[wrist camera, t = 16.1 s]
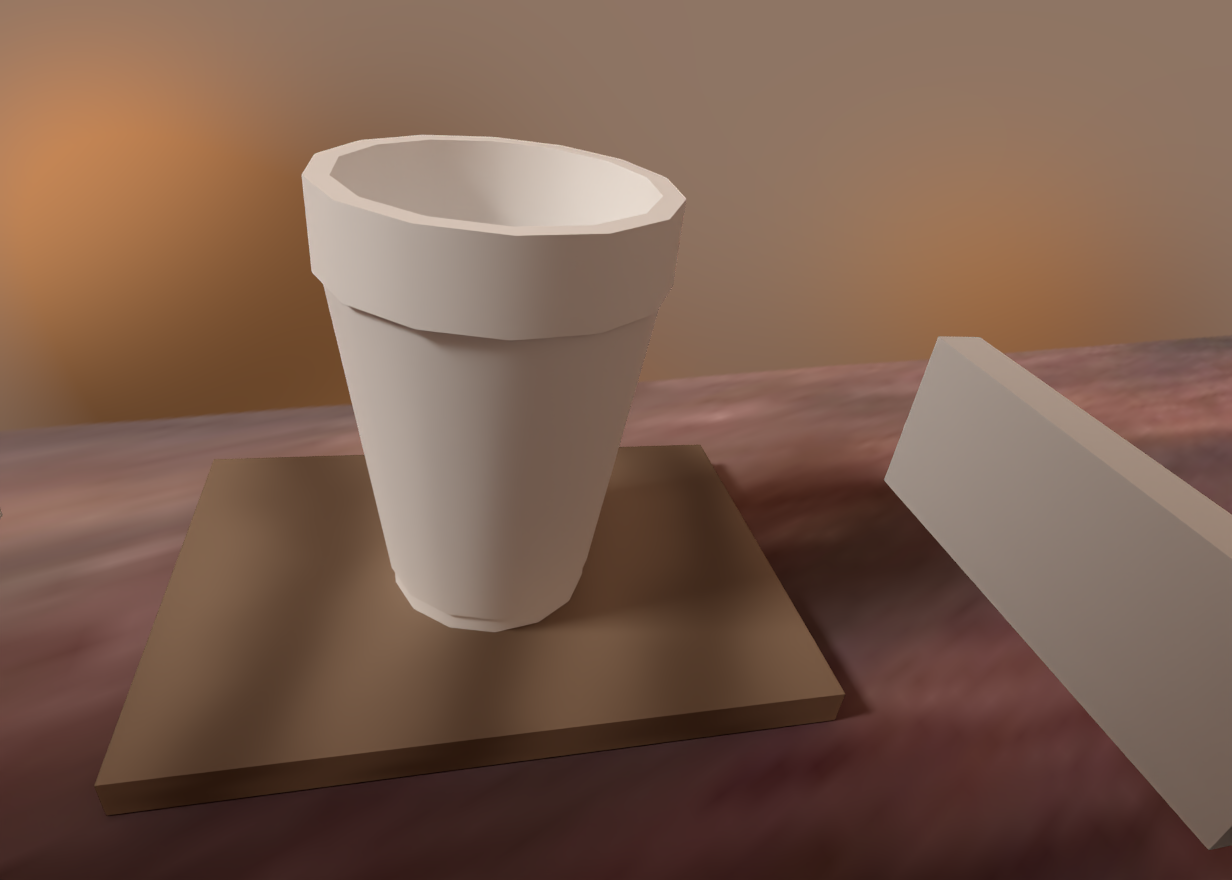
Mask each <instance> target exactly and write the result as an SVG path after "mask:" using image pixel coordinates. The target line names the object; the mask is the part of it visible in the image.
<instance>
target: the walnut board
mask: <svg viewBox="0 0 1232 880" xmlns="http://www.w3.org/2000/svg"><path fill="white" fill-rule="evenodd" d="M844 696H845V693H844V691H843V689H842V687H841V686H840V684H839V682H838V681H837V679H836V677H835V675H834V674H833V672H832V670H831V669H830V667H829V665H828V663H827V662H826V660H825V658H824V657H823V655H822V653H821V651H820V650H819V648H818V646H817V644H816V643H815V641H814V639H813V638H812V636H811V634H810V632H809V631H808V629H807V627H806V626H805V624H804V622H803V620H802V619H801V617H800V615H799V614H798V612H797V610H796V608H795V607H794V605H793V603H792V601H791V600H790V598H789V596H788V595H787V593H786V591H785V589H784V588H783V586H782V584H781V583H780V581H779V579H778V577H777V576H776V574H775V572H774V571H773V569H772V567H771V565H770V564H769V562H768V560H767V558H766V557H765V555H764V553H763V552H762V550H761V548H760V546H759V545H758V543H757V541H756V540H755V538H754V536H753V534H752V533H751V531H750V529H749V528H748V526H747V524H746V522H745V521H744V519H743V517H742V515H741V514H740V512H739V510H738V509H737V507H736V505H735V503H734V502H733V500H732V498H731V497H730V495H729V493H728V491H727V490H726V488H725V486H724V485H723V483H722V481H721V479H720V478H719V476H718V474H717V472H716V471H715V469H714V467H713V466H712V464H711V462H710V460H709V459H708V457H707V455H706V454H705V452H704V450H703V448H702V447H701V445H673V446H640V447H619V449H618V452H617V456H616V459H615V463H614V466H613V469H612V473H611V476H610V480H609V483H608V487H607V490H606V494H605V497H604V501H603V504H602V508H601V511H600V515H599V518H598V522H597V525H596V528H595V532H594V535H593V539H592V542H591V546H590V549H589V553H588V556H587V560H586V562H585V564H584V566H583V569H582V575H581V577H580V579H579V581H578V583H577V585H576V587H575V590H574V592H573V594H572V596H571V598H570V600H569V601H568V602H567V603H565V604H564V605H563V606H561V607H560V608H558V609H557V610H555V611H554V612H553V613H551V614H550V615H548V616H547V617H545V618H544V619H542V620H541V621H540V622H538V623H533V624H529V625H525V626H520V627H516V628H512V629H507V630H503V631H499V632H487V631H478V630H469V629H460V628H450V627H448V626H446V625H444V624H442V623H440V622H438V621H436V620H434V619H432V618H430V617H428V616H427V615H425V614H423V613H421V612H419V611H417V610H415V609H413V607H412V606H411V604H410V603H409V601H408V600H407V598H406V597H405V595H404V594H403V592H402V591H401V589H400V588H399V586H398V585H397V583H396V578H395V572H394V570H393V569H392V567H391V563H390V558H389V554H388V550H387V546H386V542H385V538H384V534H383V529H382V525H381V521H380V517H379V513H378V509H377V505H376V500H375V496H374V492H373V488H372V484H371V480H370V476H369V471H368V467H367V463H366V459H365V455H345V456H312V457H279V458H246V459H214V461H213V463H212V466H211V469H210V472H209V474H208V477H207V480H206V483H205V485H204V488H203V491H202V493H201V496H200V499H199V502H198V504H197V507H196V510H195V513H194V515H193V518H192V521H191V523H190V526H189V529H188V532H187V534H186V537H185V540H184V542H183V545H182V548H181V551H180V553H179V556H178V559H177V562H176V564H175V567H174V570H173V572H172V575H171V578H170V581H169V583H168V586H167V589H166V592H165V594H164V597H163V600H162V602H161V605H160V608H159V611H158V613H157V616H156V619H155V621H154V624H153V627H152V630H151V632H150V635H149V638H148V641H147V643H146V646H145V649H144V651H143V654H142V657H141V660H140V662H139V665H138V668H137V671H136V673H135V676H134V679H133V681H132V684H131V687H130V690H129V692H128V695H127V698H126V700H125V703H124V706H123V709H122V711H121V714H120V717H119V720H118V722H117V725H116V728H115V730H114V733H113V736H112V739H111V741H110V744H109V747H108V750H107V752H106V755H105V758H104V760H103V763H102V766H101V769H100V771H99V774H98V777H97V779H96V782H95V785H94V787H95V789H96V792H97V794H98V797H99V799H100V802H101V804H102V807H103V809H104V812H105V814H106V816H107V815H115V814H122V813H130V812H137V811H145V810H153V809H160V808H168V807H175V806H183V805H191V804H198V803H206V802H213V801H221V800H229V799H236V798H244V797H252V796H259V795H267V794H274V793H282V792H290V791H297V790H305V789H312V788H320V787H328V786H335V785H343V784H351V783H358V782H366V781H373V780H381V779H389V778H396V777H404V776H411V775H419V774H427V773H434V772H442V771H450V770H457V769H465V768H472V767H480V766H488V765H495V764H503V763H510V762H518V761H526V760H533V759H541V758H549V757H556V756H564V755H571V754H579V753H587V752H594V751H602V750H609V749H617V748H625V747H632V746H640V745H648V744H655V743H663V742H670V741H678V740H686V739H693V738H701V737H708V736H716V735H724V734H731V733H739V732H746V731H754V730H762V729H769V728H777V727H785V726H792V725H800V724H807V723H815V722H823V721H830V720H835V719H836V716H837V714H838V711H839V709H840V706H841V703H842V701H843V698H844Z"/></svg>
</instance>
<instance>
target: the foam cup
mask: <svg viewBox="0 0 1232 880" xmlns="http://www.w3.org/2000/svg"><path fill="white" fill-rule="evenodd" d="M302 182H303V193H304V202H305V212H306V220H307V231H308V241H309V250H310V259H311V269H312V273H313V274H314V275H315V276H316V277H317V278H318V279H319V280H320V281H321V282H322V283H323V285H324V289H325V293H326V297H327V301H328V306H329V310H330V313H331V318H332V322H333V326H334V331H335V335H336V339H337V343H338V347H339V351H340V355H341V360H342V363H343V368H344V372H345V376H346V380H347V384H348V389H349V393H350V397H351V401H352V405H353V409H354V413H355V418H356V422H357V426H358V430H359V434H360V438H361V442H362V447H363V451H364V455H365V459H366V463H367V467H368V471H369V476H370V480H371V484H372V488H373V492H374V496H375V500H376V505H377V509H378V513H379V517H380V521H381V525H382V529H383V534H384V538H385V542H386V546H387V550H388V554H389V558H390V563H391V567H392V569H393V570H394V572H395V578H396V583H397V585H398V586H399V588H400V589H401V591H402V592H403V594H404V595H405V597H406V598H407V600H408V601H409V603H410V604H411V606H412V607H413V609H415V610H417V611H419V612H421V613H423V614H425V615H427V616H428V617H430V618H432V619H434V620H436V621H438V622H440V623H442V624H444V625H446V626H448V627H450V628H460V629H469V630H478V631H487V632H499V631H503V630H507V629H512V628H516V627H520V626H525V625H529V624H533V623H538V622H540V621H541V620H542V619H544V618H545V617H547V616H548V615H550V614H551V613H553V612H554V611H555V610H557V609H558V608H560V607H561V606H563V605H564V604H565V603H567V602H568V601H569V600H570V598H571V596H572V594H573V592H574V590H575V587H576V585H577V583H578V581H579V579H580V577H581V575H582V569H583V566H584V564H585V562H586V560H587V556H588V553H589V549H590V546H591V542H592V539H593V535H594V532H595V528H596V525H597V522H598V518H599V515H600V511H601V508H602V504H603V501H604V497H605V494H606V490H607V487H608V483H609V480H610V476H611V473H612V469H613V466H614V463H615V459H616V456H617V452H618V449H619V445H620V442H621V438H622V435H623V431H624V428H625V424H626V421H627V417H628V414H629V411H630V407H631V404H632V400H633V397H634V393H635V390H636V386H637V383H638V379H639V376H640V372H641V369H642V365H643V362H644V359H645V355H646V352H647V348H648V345H649V341H650V337H651V334H652V330H653V327H654V323H655V320H656V317H657V313H658V310H659V307H660V306H661V304H662V303H663V301H664V299H665V298H666V296H667V294H668V293H669V291H670V290H671V288H672V286H673V282H674V275H675V269H676V263H677V256H678V250H679V244H680V236H681V230H682V224H683V217H684V211H685V205H686V198H685V197H684V196H683V195H682V194H681V193H680V191H679V190H678V189H677V188H676V187H675V186H674V185H673V184H672V183H671V182H670V181H669V180H668V178H666V177H664V176H661V175H659V174H656V173H654V172H651V171H649V170H647V169H644V168H642V167H639V166H637V165H634V164H632V163H629V162H627V161H625V160H622V159H618V158H614V157H610V156H605V155H601V154H597V153H592V152H588V151H583V150H579V149H575V148H571V147H566V146H562V145H554V144H546V143H538V142H530V141H522V140H513V139H506V138H497V137H479V136H445V135H415V136H403V137H392V138H379V139H368V140H359V141H355V142H352V143H348V144H345V145H342V146H338V147H335V148H332V149H329V150H325V151H322V152H319V153H315V154H314V155H313V157H312V159H311V160H310V162H309V164H308V165H307V167H306V168H305V170H304V172H303V173H302Z"/></svg>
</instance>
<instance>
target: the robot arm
mask: <svg viewBox="0 0 1232 880" xmlns="http://www.w3.org/2000/svg"><path fill="white" fill-rule="evenodd" d="M884 481H885V482H886V483H887V484H888V486H889V487H890V488H891V489H892V490H893V491H894V492H895V494H896V495H897V496H898V497H899V498H900V499H901V500H902V501H903V503H904V504H905V505H906V506H907V507H908V508H909V509H910V511H911V512H912V513H913V514H914V515H915V516H916V517H917V519H918V520H919V521H920V522H921V523H922V524H923V525H924V527H925V528H926V529H927V530H928V531H929V532H930V533H931V535H932V536H933V537H934V538H935V539H936V540H937V541H938V542H939V544H940V545H941V546H942V547H943V548H944V549H945V550H946V552H947V553H948V554H949V555H950V556H951V557H952V558H953V560H954V561H955V562H956V563H957V564H958V565H959V566H960V568H961V569H962V570H963V571H964V572H965V573H966V574H967V576H968V577H969V578H970V579H971V580H972V581H973V582H974V583H975V585H976V586H977V587H978V588H979V589H980V590H981V591H982V593H983V594H984V595H985V596H986V597H987V598H988V599H989V601H990V602H991V603H992V604H993V605H994V606H995V607H996V609H997V610H998V611H999V612H1000V613H1001V614H1002V615H1003V617H1004V618H1005V619H1006V620H1007V621H1008V622H1009V623H1010V624H1011V626H1012V627H1013V628H1014V629H1015V630H1016V631H1017V632H1018V634H1019V635H1020V636H1021V637H1022V638H1023V639H1024V640H1025V642H1026V643H1027V644H1028V645H1029V646H1030V647H1031V648H1032V650H1033V651H1034V652H1035V653H1036V654H1037V655H1038V656H1039V658H1040V659H1041V660H1042V661H1043V662H1044V663H1045V664H1046V665H1047V667H1048V668H1049V669H1050V670H1051V671H1052V672H1053V673H1054V675H1055V676H1056V677H1057V678H1058V679H1059V680H1060V681H1061V683H1062V684H1063V685H1064V686H1065V687H1066V688H1067V689H1068V691H1069V692H1070V693H1071V694H1072V695H1073V696H1074V697H1075V699H1076V700H1077V701H1078V702H1079V703H1080V704H1081V705H1082V706H1083V708H1084V709H1085V710H1086V711H1087V712H1088V713H1089V714H1090V716H1091V717H1092V718H1093V719H1094V720H1095V721H1096V722H1097V724H1098V725H1099V726H1100V727H1101V728H1102V729H1103V730H1104V732H1105V733H1106V734H1107V735H1108V736H1109V737H1110V738H1111V740H1112V741H1113V742H1114V743H1115V744H1116V745H1117V746H1118V747H1119V749H1120V750H1121V751H1122V752H1123V753H1124V754H1125V755H1126V757H1127V758H1128V759H1129V760H1130V761H1131V762H1132V763H1133V765H1134V766H1135V767H1136V768H1137V769H1138V770H1139V771H1140V773H1141V774H1142V775H1143V776H1144V777H1145V778H1146V779H1147V781H1148V782H1149V783H1150V784H1151V785H1152V786H1153V787H1154V788H1155V790H1156V791H1157V792H1158V793H1159V794H1160V795H1161V796H1162V798H1163V799H1164V800H1165V801H1166V802H1167V803H1168V804H1169V806H1170V807H1171V808H1172V809H1173V810H1174V811H1175V812H1176V814H1177V815H1178V816H1179V817H1180V818H1181V819H1182V820H1183V822H1184V823H1185V824H1186V825H1187V826H1188V827H1189V828H1190V829H1191V831H1192V832H1193V833H1194V834H1195V835H1196V836H1197V837H1198V839H1199V840H1200V841H1201V842H1202V843H1203V844H1204V845H1205V847H1206V848H1207V849H1208V850H1212V849H1216V848H1221V847H1226V846H1231V845H1232V515H1231V514H1230V513H1228V512H1227V511H1225V510H1224V509H1223V508H1221V507H1220V506H1218V505H1217V504H1216V503H1214V502H1213V501H1211V500H1210V499H1208V498H1207V497H1206V496H1204V495H1203V494H1201V493H1200V492H1199V491H1197V490H1196V489H1194V488H1193V487H1191V486H1190V485H1189V484H1187V483H1186V482H1184V481H1183V480H1182V479H1180V478H1179V477H1177V476H1176V475H1174V474H1173V473H1172V472H1170V471H1169V470H1167V469H1166V468H1165V467H1163V466H1162V465H1160V464H1159V463H1157V462H1156V461H1155V460H1153V459H1152V458H1150V457H1149V456H1148V455H1146V454H1145V453H1143V452H1142V451H1140V450H1139V449H1138V448H1136V447H1135V446H1133V445H1132V444H1131V443H1129V442H1128V441H1126V440H1125V439H1123V438H1122V437H1121V436H1119V435H1118V434H1116V433H1115V432H1113V431H1112V430H1111V429H1109V428H1108V427H1106V426H1105V425H1104V424H1102V423H1101V422H1099V421H1098V420H1096V419H1095V418H1094V417H1092V416H1091V415H1089V414H1088V413H1087V412H1085V411H1084V410H1082V409H1081V408H1079V407H1078V406H1077V405H1075V404H1074V403H1072V402H1071V401H1070V400H1068V399H1067V398H1065V397H1064V396H1062V395H1061V394H1060V393H1058V392H1057V391H1055V390H1054V389H1053V388H1051V387H1050V386H1048V385H1047V384H1045V383H1044V382H1043V381H1041V380H1040V379H1038V378H1037V377H1036V376H1034V375H1033V374H1031V373H1030V372H1028V371H1027V370H1026V369H1024V368H1023V367H1021V366H1020V365H1019V364H1017V363H1016V362H1014V361H1013V360H1011V359H1010V358H1009V357H1007V356H1006V355H1004V354H1003V353H1002V352H1000V351H999V350H997V349H996V348H994V347H993V346H992V345H990V344H989V343H987V342H986V341H984V340H983V339H982V338H980V337H938V339H937V342H936V345H935V347H934V350H933V352H932V355H931V358H930V360H929V363H928V366H927V368H926V371H925V373H924V376H923V379H922V381H921V384H920V387H919V389H918V392H917V394H916V397H915V400H914V402H913V405H912V408H911V410H910V413H909V415H908V418H907V421H906V423H905V426H904V429H903V431H902V434H901V437H900V439H899V442H898V444H897V447H896V450H895V452H894V455H893V458H892V460H891V463H890V465H889V468H888V471H887V473H886V476H885V479H884ZM1 517H2V512H1V509H0V518H1Z"/></svg>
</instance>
